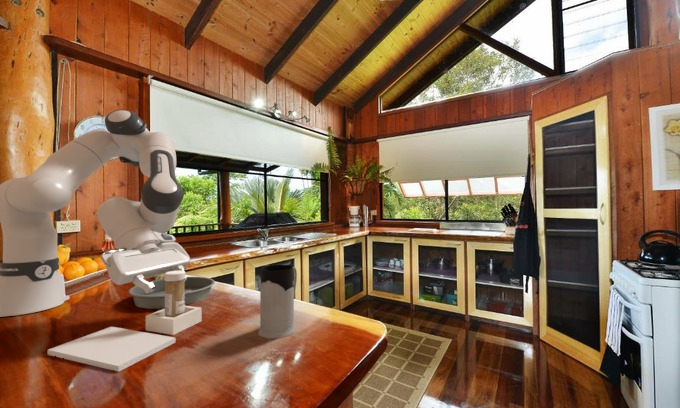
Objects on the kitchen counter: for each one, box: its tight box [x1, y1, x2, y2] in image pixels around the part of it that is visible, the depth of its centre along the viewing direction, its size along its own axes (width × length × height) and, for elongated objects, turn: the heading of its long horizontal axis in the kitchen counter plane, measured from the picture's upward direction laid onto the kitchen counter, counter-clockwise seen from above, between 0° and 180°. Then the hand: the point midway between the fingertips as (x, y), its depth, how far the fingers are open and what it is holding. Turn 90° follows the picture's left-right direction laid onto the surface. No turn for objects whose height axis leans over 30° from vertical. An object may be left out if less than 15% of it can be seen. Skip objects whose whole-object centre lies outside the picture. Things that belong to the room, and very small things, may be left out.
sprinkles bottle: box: [163, 270, 186, 318], centre depth 72 cm, size 5×5×14 cm
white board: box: [47, 326, 176, 373], centre depth 60 cm, size 20×12×1 cm, turn 72°
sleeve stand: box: [145, 305, 203, 336], centre depth 72 cm, size 9×9×4 cm
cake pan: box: [128, 276, 216, 310], centre depth 96 cm, size 25×25×4 cm
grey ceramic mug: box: [258, 264, 298, 340], centre depth 72 cm, size 9×14×15 cm, turn 162°
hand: (168, 285), depth 74 cm, fingers open, 8 cm apart
